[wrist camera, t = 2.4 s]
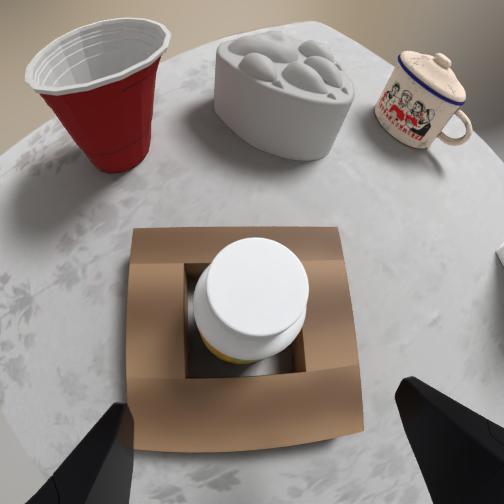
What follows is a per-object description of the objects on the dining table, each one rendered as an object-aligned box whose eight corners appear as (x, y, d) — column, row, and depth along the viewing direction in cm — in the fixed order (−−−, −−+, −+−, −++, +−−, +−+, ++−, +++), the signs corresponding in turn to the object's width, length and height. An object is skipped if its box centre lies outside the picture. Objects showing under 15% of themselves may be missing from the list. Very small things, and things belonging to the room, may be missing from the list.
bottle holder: (345, 425, 18) (364, 430, 15) (142, 439, 16) (131, 448, 13) (324, 244, 23) (337, 227, 21) (142, 247, 21) (133, 228, 19)
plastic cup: (162, 204, 23) (135, 79, 12) (55, 193, 22) (-4, 97, 11) (190, 116, 28) (189, 10, 17) (97, 113, 27) (72, 22, 16)
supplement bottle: (225, 379, 18) (234, 384, 10) (185, 311, 20) (162, 258, 11) (292, 338, 20) (352, 307, 11) (252, 275, 22) (278, 201, 13)
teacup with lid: (359, 112, 31) (396, 35, 21) (390, 95, 34) (423, 33, 24) (435, 179, 28) (493, 112, 18) (454, 152, 32) (500, 95, 21)
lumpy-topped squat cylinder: (272, 77, 32) (284, 18, 24) (353, 139, 29) (385, 78, 21) (200, 104, 29) (201, 34, 21) (285, 180, 25) (312, 105, 18)
